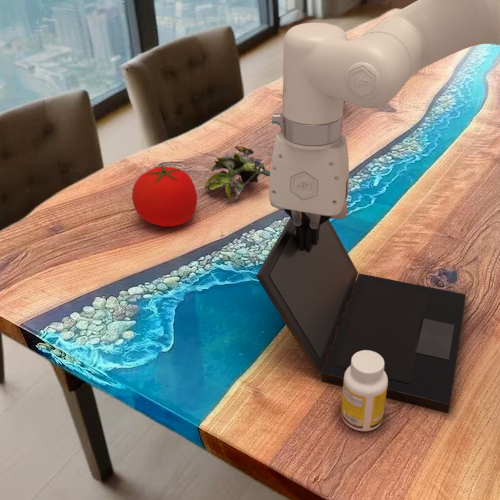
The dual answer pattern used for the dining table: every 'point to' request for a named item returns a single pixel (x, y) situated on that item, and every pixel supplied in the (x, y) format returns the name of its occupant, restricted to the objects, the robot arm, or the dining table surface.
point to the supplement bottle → (364, 391)
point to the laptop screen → (309, 288)
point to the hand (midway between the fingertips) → (307, 246)
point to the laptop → (402, 338)
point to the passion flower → (236, 171)
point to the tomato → (165, 196)
